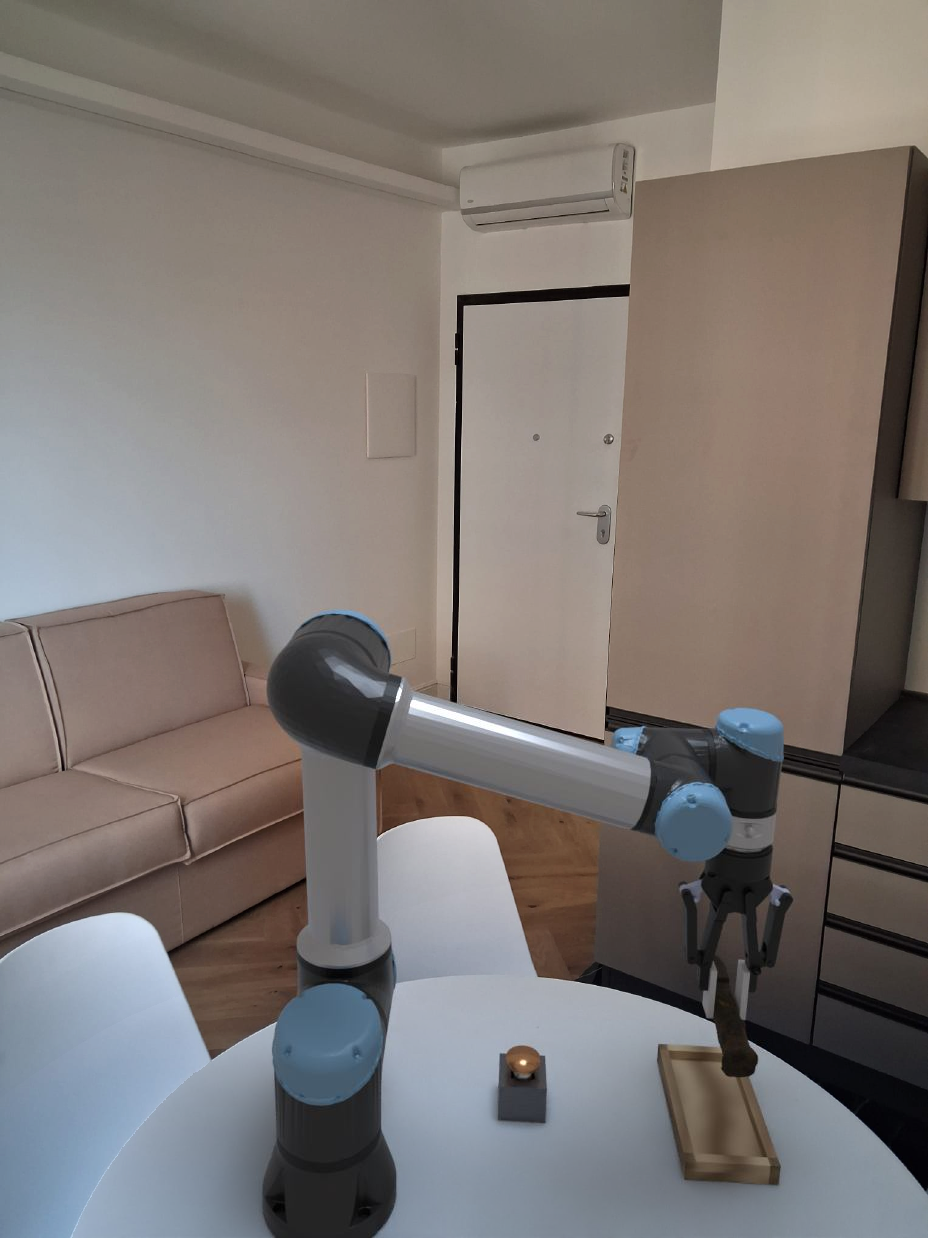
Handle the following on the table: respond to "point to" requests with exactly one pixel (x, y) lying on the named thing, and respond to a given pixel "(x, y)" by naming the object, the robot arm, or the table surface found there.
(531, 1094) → the socket block
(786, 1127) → the table surface
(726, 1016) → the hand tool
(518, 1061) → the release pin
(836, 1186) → the table surface
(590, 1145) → the table surface
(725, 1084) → the tray
